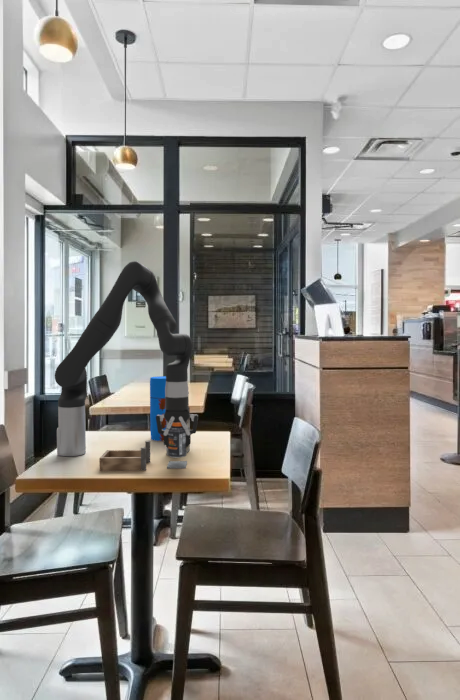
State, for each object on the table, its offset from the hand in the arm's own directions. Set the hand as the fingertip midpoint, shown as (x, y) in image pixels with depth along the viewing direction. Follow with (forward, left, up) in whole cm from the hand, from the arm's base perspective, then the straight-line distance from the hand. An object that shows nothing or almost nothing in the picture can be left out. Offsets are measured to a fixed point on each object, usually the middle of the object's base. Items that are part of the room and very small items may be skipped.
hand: (177, 446), depth 172 cm
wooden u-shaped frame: (-17, 0, -6) cm, 18 cm away
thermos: (-9, +44, -7) cm, 45 cm away
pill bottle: (0, 0, -3) cm, 3 cm away
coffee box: (-1, +18, -7) cm, 19 cm away
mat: (0, 0, -6) cm, 6 cm away
